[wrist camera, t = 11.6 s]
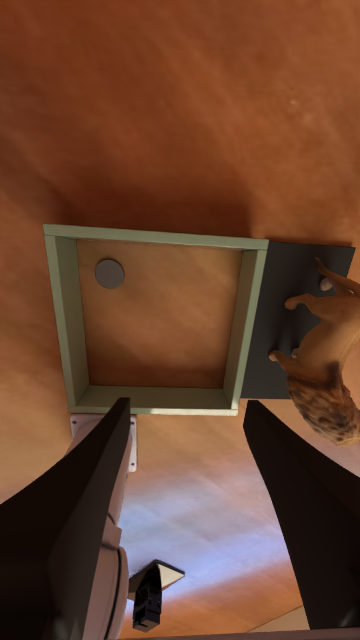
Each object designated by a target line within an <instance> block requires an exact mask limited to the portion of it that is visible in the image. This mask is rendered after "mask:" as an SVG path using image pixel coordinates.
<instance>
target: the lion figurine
mask: <svg viewBox="0 0 360 640" xmlns="http://www.w3.org/2000/svg"><path fill="white" fill-rule="evenodd" d="M314 266H315V268H316V269H317V270H318V271H319V272H320V273H321V274H323V275H325V276H327V278H325V279H323V280H322V281H321V283H320V288H321V289H322V290H323V291H326V290H329V289H330V288H331V287H332V286H333V288H334V290H335V292H336V296H328V297H314V296H312V295H311V294H308V293H307V294H303V295H300V296H297V297H291V298H289V299H288V300H286V301H285V303H284V307H285V308H286V309H289V310H293V309H295V308H296V306H297V304H299V303H303V304H305V305H306V306H307V308H308V309H309V310H310V311H311V313H312V314H314V315H316V316H318V317H319V318H320V319H321V322H320V324H318V325H316V326H315V327H314V328H312V329H311V330H310V331H309V332H308V333H307V334H306V335H305V337H304V338H303V340H302V341H301V344H300V346H299V348H295V349H293V351H292V353H291V356H292V358H289V357H287V356H285V355H284V354H283V352H281V351H276V350H274V351H272V352H270V353H269V355H268V357H269V359H271V360H272V361H278V362H279V364H280V365H281V367H282V368H283V369H284V370H285V371H286V372H287V373H288V376H287V380H286V386H287V388H288V390H289V391H288V393H289V396H290V397H291V399H292V400H293V402H294V403H295V406H296V408H297V409H298V410H299V412H300V414H301V415H302V416H303V418H304V420H305V421H306V422H307V423H308V424H309V425H310V427H311V428H312V429H313V430H314V431H315V432H316V433H318V434H319V435H320V436H322V437H323V438H325V439H327V440H330V441H332V442H334V443H335V444H336V445H337V446H338V447H343V446H350V445H351V444H352V443H356V442H358V441H360V410H358V409H357V407H356V405H355V403H354V402H353V400H352V398H351V397H350V391H349V390H348V389H347V388H346V387H345V385H343V379H342V374H341V372H342V369H343V365H344V363H345V360H346V358H347V356H348V354H349V352H350V350H351V349H352V347H353V346H354V344H355V343H356V342H357V341H358V340H359V339H360V284H358V283H357V282H355V281H352V280H350V279H348V278H345V277H343V276H340V275H337V274H335V273H332V272H330V271H329V270H328V269H326V268H325V267H324V265H323V263H321V262H320V259H319V258H315V261H314ZM350 290H351V291H352V292H354V293H352V292H351V291H350Z"/></svg>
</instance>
